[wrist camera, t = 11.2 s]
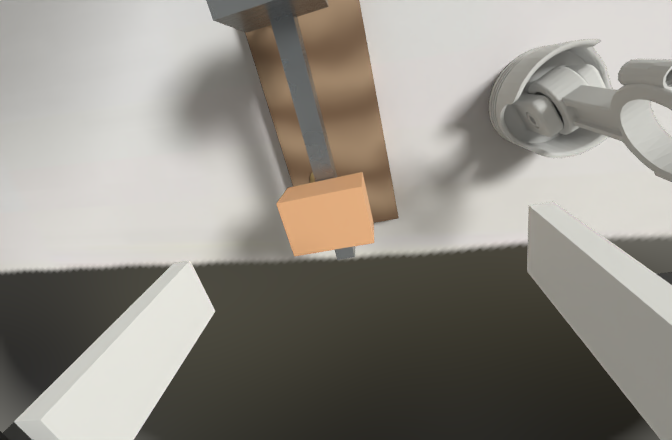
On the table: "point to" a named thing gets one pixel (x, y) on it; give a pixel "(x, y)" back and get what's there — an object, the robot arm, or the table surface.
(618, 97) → the engine component
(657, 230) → the table surface
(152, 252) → the table surface
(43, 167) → the table surface
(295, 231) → the block
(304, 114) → the grey piece
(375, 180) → the hole plate
